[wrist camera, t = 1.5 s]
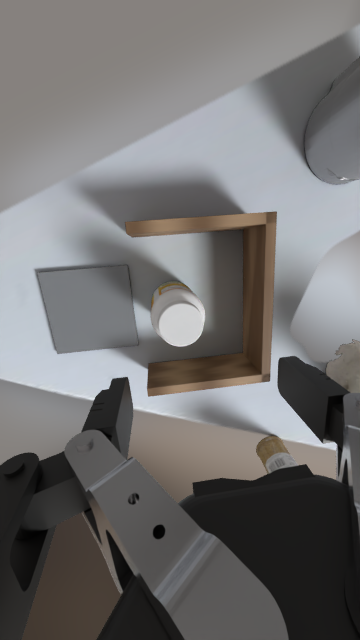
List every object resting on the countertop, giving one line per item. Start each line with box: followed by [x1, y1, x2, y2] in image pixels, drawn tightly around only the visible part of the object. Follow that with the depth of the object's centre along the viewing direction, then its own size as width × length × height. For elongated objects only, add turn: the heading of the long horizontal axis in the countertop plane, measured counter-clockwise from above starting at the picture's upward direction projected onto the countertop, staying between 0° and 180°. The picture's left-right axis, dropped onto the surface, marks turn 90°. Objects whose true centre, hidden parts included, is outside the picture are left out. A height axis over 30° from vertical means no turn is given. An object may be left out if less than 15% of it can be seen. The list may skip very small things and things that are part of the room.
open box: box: [125, 212, 277, 397], centre depth 27 cm, size 14×18×6 cm
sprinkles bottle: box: [256, 436, 298, 474], centre depth 31 cm, size 5×5×13 cm
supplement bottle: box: [151, 281, 205, 347], centre depth 25 cm, size 5×5×10 cm
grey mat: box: [38, 265, 138, 354], centre depth 29 cm, size 10×10×1 cm
